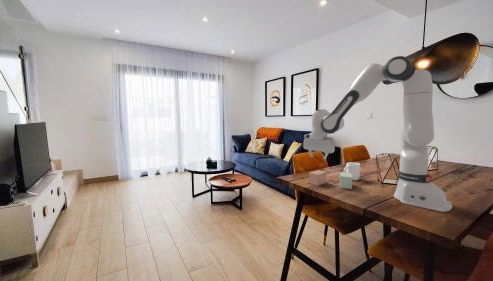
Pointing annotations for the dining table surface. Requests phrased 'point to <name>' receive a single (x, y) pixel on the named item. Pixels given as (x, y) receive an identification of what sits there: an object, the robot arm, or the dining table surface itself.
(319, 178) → the dusty pink block
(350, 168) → the mug
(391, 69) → the robot arm
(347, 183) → the mint green block
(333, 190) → the dining table surface
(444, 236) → the dining table surface
